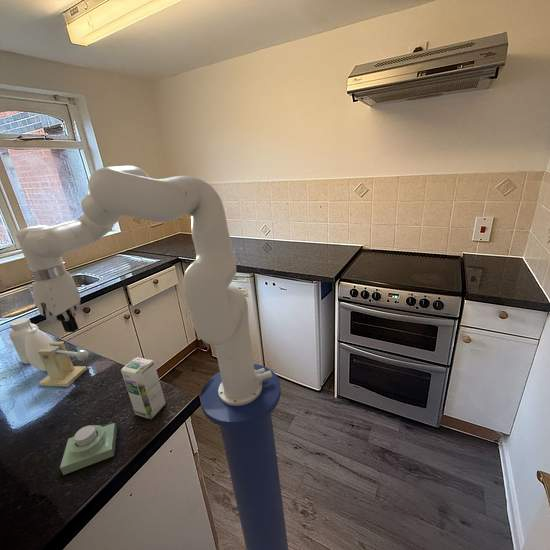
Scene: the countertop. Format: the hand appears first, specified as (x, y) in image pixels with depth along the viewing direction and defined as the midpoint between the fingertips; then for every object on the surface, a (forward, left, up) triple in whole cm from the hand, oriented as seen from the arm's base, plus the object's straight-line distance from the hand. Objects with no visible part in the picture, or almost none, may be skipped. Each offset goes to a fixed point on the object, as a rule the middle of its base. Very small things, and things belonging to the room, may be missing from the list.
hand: (72, 330), depth 87 cm
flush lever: (+4, -3, -10) cm, 11 cm away
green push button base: (-5, +30, -18) cm, 35 cm away
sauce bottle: (+14, -13, -18) cm, 26 cm away
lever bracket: (+8, -5, -18) cm, 20 cm away
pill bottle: (+21, -24, -18) cm, 37 cm away
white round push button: (-5, +30, -14) cm, 33 cm away
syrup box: (-18, +23, -18) cm, 34 cm away
